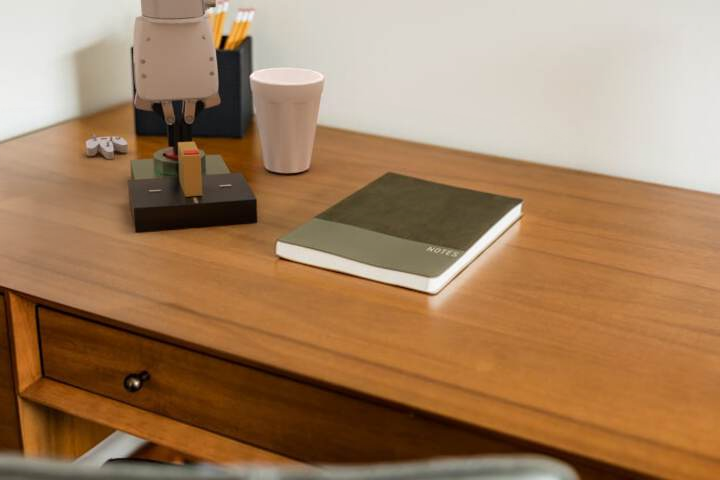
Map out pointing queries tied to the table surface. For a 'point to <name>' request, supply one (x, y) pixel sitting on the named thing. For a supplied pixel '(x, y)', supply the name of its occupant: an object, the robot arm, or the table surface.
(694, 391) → the table surface
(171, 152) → the button
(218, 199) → the panel
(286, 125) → the cup
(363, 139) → the table surface
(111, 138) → the game controller
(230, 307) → the table surface
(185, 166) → the tan block
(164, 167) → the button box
